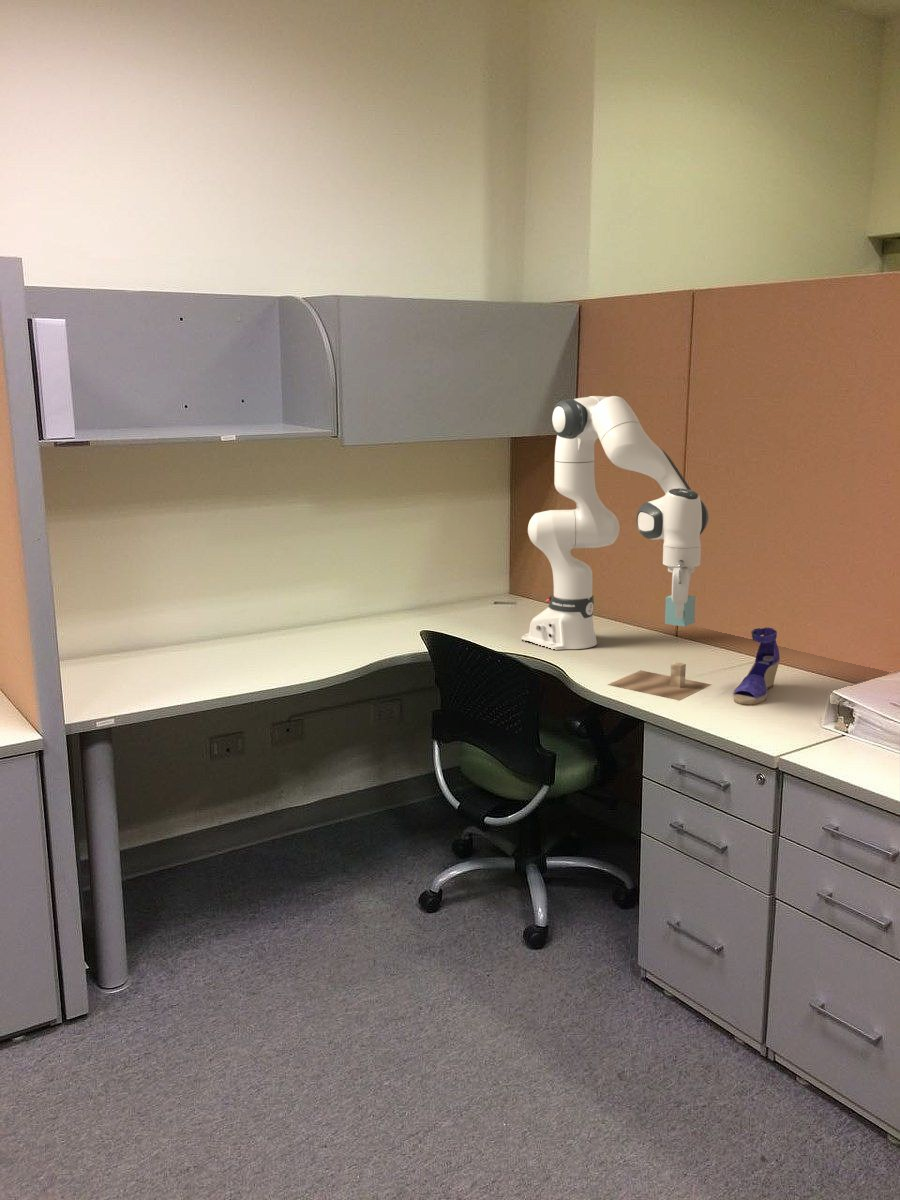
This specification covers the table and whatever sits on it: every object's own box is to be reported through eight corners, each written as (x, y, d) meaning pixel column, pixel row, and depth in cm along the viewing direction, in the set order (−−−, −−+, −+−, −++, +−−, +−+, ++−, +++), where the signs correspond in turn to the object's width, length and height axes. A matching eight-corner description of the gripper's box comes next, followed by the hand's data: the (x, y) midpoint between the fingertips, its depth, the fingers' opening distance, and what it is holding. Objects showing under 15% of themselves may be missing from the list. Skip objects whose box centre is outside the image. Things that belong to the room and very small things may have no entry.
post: (670, 685, 247) (671, 664, 246) (675, 683, 249) (676, 662, 247) (679, 687, 245) (680, 666, 244) (685, 685, 247) (685, 663, 246)
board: (607, 687, 249) (607, 684, 249) (640, 673, 260) (640, 670, 260) (679, 703, 236) (679, 700, 236) (711, 687, 247) (711, 684, 247)
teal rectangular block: (664, 623, 243) (665, 597, 242) (675, 619, 247) (675, 593, 245) (684, 626, 240) (685, 599, 238) (694, 622, 244) (695, 596, 242)
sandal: (720, 700, 238) (723, 639, 235) (761, 681, 252) (764, 624, 248) (752, 707, 232) (755, 645, 229) (791, 688, 246) (795, 629, 243)
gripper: (694, 565, 229) (692, 624, 232) (695, 550, 249) (693, 605, 252) (666, 564, 231) (664, 623, 234) (669, 550, 250) (668, 604, 253)
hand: (679, 613), depth 243 cm, fingers closed on teal rectangular block, 7 cm apart
